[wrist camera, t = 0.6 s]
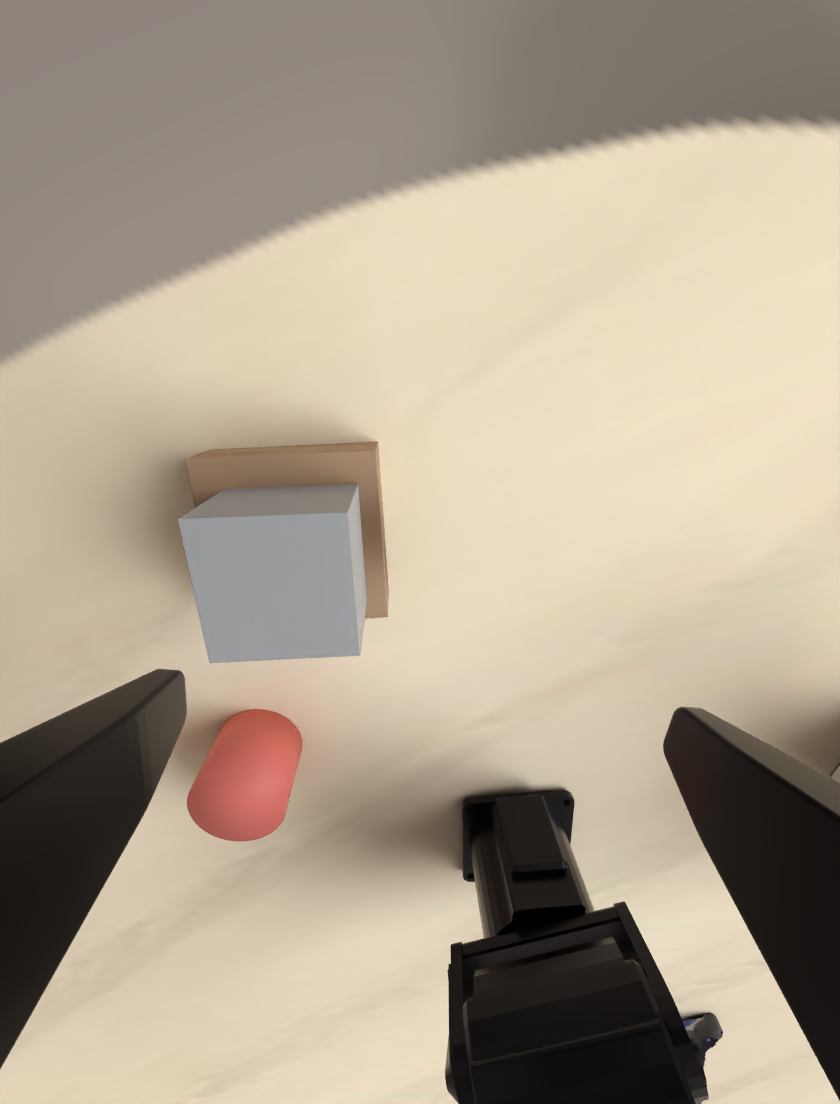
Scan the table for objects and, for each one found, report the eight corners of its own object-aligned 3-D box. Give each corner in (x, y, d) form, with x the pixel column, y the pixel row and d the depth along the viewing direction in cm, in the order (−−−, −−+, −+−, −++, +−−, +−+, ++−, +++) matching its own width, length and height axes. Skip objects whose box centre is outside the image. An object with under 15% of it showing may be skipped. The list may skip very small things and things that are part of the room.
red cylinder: (307, 770, 26) (291, 837, 22) (227, 776, 25) (198, 844, 22) (296, 706, 24) (277, 766, 20) (211, 711, 24) (177, 772, 20)
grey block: (367, 601, 19) (359, 655, 16) (246, 607, 19) (209, 662, 15) (357, 483, 17) (347, 512, 14) (224, 488, 17) (177, 519, 14)
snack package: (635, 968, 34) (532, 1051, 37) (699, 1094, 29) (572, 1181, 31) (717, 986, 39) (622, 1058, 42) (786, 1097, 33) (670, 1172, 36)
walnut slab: (388, 587, 22) (387, 617, 20) (243, 595, 22) (221, 626, 19) (378, 440, 20) (375, 450, 17) (214, 448, 20) (184, 459, 17)
